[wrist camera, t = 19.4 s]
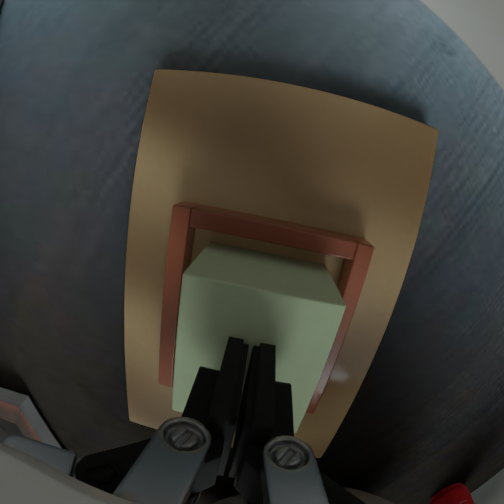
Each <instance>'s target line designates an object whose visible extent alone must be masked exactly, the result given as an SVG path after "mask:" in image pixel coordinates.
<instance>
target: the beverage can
mask: <svg viewBox="0 0 504 504" xmlns="http://www.w3.org/2000/svg"><path fill="white" fill-rule="evenodd" d="M431 504H474V501H473V499H472V497H471V494H470V492H469V490H468V487H466V486H465V485H463V484H462V483H461V482H458V483H454V484H452V485H449V486H447V487H445V488H444V489H442V490H440V491H439V492H437V493H436V494H435V495H434V496H433V497H432V498H431Z"/></svg>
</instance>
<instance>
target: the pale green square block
mask: <svg viewBox="0 0 504 504" xmlns="http://www.w3.org/2000/svg"><path fill="white" fill-rule="evenodd" d="M345 308H346V305H345V303H344V301H343V299H342V297H341V295H340V292H339V290H338V288H337V286H336V284H335V282H334V280H333V278H332V276H331V274H330V272H329V270H328V268H327V266H326V265H324V264H319V263H314V262H309V261H304V260H299V259H294V258H289V257H285V256H280V255H275V254H270V253H265V252H260V251H255V250H250V249H245V248H240V247H235V246H230V245H225V244H220V243H216V242H210V243H209V244H208V245H207V246H206V247H205V248H204V250H203V251H202V252H201V253H200V254H199V255H198V257H197V258H196V259H195V260H194V261H193V262H192V264H191V265H190V266H189V267H188V268H187V269H186V271H185V272H184V273H183V277H182V286H181V295H180V305H179V315H178V325H177V337H176V349H175V362H174V377H173V395H172V410H175V411H178V412H182V413H183V411H184V408H185V405H186V403H187V400H188V397H189V394H190V392H191V389H192V386H193V383H194V381H195V378H196V375H197V372H198V370H199V367H200V366H202V367H206V368H211V369H215V370H220V368H221V364H222V360H223V357H224V353H225V349H226V345H227V342H228V338H229V336H230V337H235V338H240V339H244V342H243V343H245V344H249V349H248V355H247V362H246V369H245V376H244V383H245V379H246V375H247V371H248V367H249V363H250V359H251V354H252V350H253V346H254V345H255V346H259V345H260V343H266V344H271V345H276V381H278V382H285V383H290V384H291V387H292V404H293V424H294V433H296V432H297V430H298V428H299V426H300V424H301V421H302V419H303V417H304V415H305V412H306V410H307V408H308V405H309V403H310V401H311V398H312V396H313V394H314V391H315V389H316V386H317V384H318V381H319V379H320V376H321V374H322V371H323V369H324V366H325V364H326V361H327V358H328V356H329V353H330V350H331V348H332V345H333V342H334V339H335V337H336V334H337V331H338V328H339V325H340V322H341V320H342V317H343V314H344V311H345ZM244 383H243V387H244ZM242 392H243V389H242Z"/></svg>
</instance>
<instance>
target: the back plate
mask: <svg viewBox="0 0 504 504" xmlns="http://www.w3.org/2000/svg"><path fill="white" fill-rule="evenodd" d="M437 138H438V129H436V128H434V127H431V126H429V125H426V124H424V123H422V122H419V121H416V120H414V119H411V118H409V117H406V116H403V115H400V114H398V113H395V112H392V111H389V110H386V109H383V108H380V107H377V106H374V105H371V104H368V103H364V102H361V101H358V100H354V99H351V98H347V97H344V96H340V95H336V94H332V93H328V92H324V91H320V90H316V89H312V88H307V87H303V86H298V85H293V84H288V83H283V82H278V81H272V80H266V79H260V78H254V77H247V76H239V75H231V74H223V73H213V72H202V71H188V70H168V69H156V70H155V71H154V75H153V79H152V83H151V88H150V92H149V96H148V101H147V105H146V110H145V115H144V120H143V125H142V131H141V136H140V142H139V147H138V154H137V160H136V166H135V173H134V181H133V188H132V196H131V205H130V215H129V225H128V237H127V251H126V268H125V297H124V339H125V368H126V385H127V398H128V409H129V419H130V421H133V422H136V423H139V424H142V425H145V426H148V427H151V428H154V429H157V430H158V428H159V427H160V425H161V424H162V423H163V422H164V421H166V420H168V419H170V418H175V417H181V416H182V414H183V413H182V412H178V411H175V410H172V395H173V377H174V362H175V349H176V337H177V325H178V315H179V305H180V295H181V286H182V277H183V273H184V272H185V271H186V269H187V268H188V267H189V266H190V265H191V264H192V262H193V261H194V260H195V259H196V258H197V257H198V255H199V254H200V253H201V252H202V251H203V250H204V248H205V247H206V246H207V245H208V244H209V243H210V242H216V243H220V244H225V245H230V246H235V247H240V248H245V249H250V250H255V251H260V252H265V253H270V254H275V255H280V256H285V257H289V258H294V259H299V260H304V261H309V262H314V263H319V264H324V265H326V266H327V268H328V270H329V272H330V274H331V276H332V278H333V280H334V282H335V284H336V286H337V288H338V290H339V292H340V295H341V297H342V299H343V301H344V303H345V305H346V308H345V311H344V314H343V317H342V320H341V322H340V325H339V328H338V331H337V334H336V337H335V339H334V342H333V345H332V348H331V350H330V353H329V356H328V358H327V361H326V364H325V366H324V369H323V371H322V374H321V376H320V379H319V381H318V384H317V386H316V389H315V391H314V394H313V396H312V398H311V401H310V403H309V405H308V408H307V410H306V412H305V415H304V417H303V419H302V421H301V424H300V426H299V428H298V430H297V432H296V433H294V437H296V438H299V439H301V440H303V441H305V442H306V443H307V444H308V445H309V446H310V447H311V448H312V450H313V452H314V455H315V458H321V457H322V455H323V454H324V452H325V450H326V449H327V447H328V445H329V444H330V442H331V440H332V439H333V437H334V435H335V433H336V432H337V430H338V428H339V426H340V425H341V423H342V421H343V419H344V417H345V415H346V414H347V412H348V410H349V408H350V406H351V404H352V402H353V400H354V398H355V396H356V394H357V392H358V390H359V388H360V386H361V384H362V382H363V380H364V378H365V376H366V374H367V371H368V369H369V367H370V365H371V363H372V360H373V358H374V356H375V354H376V351H377V349H378V347H379V344H380V342H381V340H382V337H383V335H384V332H385V330H386V327H387V325H388V322H389V320H390V317H391V314H392V312H393V309H394V306H395V304H396V301H397V298H398V295H399V292H400V289H401V287H402V284H403V281H404V278H405V275H406V271H407V268H408V265H409V262H410V259H411V255H412V252H413V249H414V245H415V242H416V238H417V234H418V231H419V227H420V223H421V219H422V215H423V211H424V207H425V202H426V198H427V193H428V189H429V184H430V179H431V174H432V169H433V163H434V157H435V151H436V145H437ZM235 430H236V429H235ZM234 436H235V433H234ZM233 443H234V437H233V441H232V444H231V447H232V448H233Z"/></svg>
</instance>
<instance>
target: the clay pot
mask: <svg viewBox="0 0 504 504" xmlns="http://www.w3.org/2000/svg"><path fill="white" fill-rule="evenodd" d="M343 488H344V489H346V490H347V491H348V492H350V493H351V494H353V495H354V496H356V497H357V498H359V499H360V500H362V501H363V502H364V503H366V504H394V503H392V502H390V501H388V500H386V499H383V498H381V497H378V496H376V495H374V494H371V493H367V492H364V491H361V490H356V489H352V488H346V487H343ZM212 504H243V496H242V495H241V494H240V495H236V496H232V497H228V498H225V499H222V500H219V501H217V502H214V503H212Z"/></svg>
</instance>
